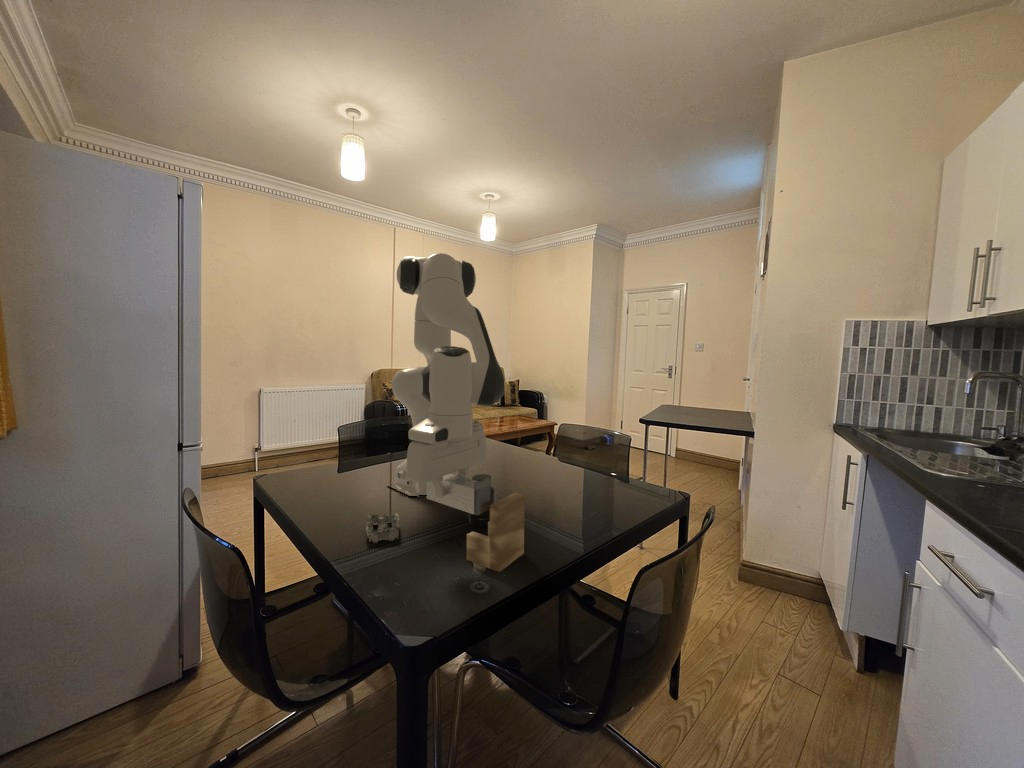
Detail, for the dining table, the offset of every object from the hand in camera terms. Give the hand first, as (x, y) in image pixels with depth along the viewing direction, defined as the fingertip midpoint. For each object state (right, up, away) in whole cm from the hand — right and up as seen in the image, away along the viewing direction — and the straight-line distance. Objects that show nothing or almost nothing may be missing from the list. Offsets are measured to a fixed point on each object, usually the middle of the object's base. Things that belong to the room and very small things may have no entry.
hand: (450, 492), depth 82 cm
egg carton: (-18, -14, +13) cm, 26 cm away
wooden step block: (+9, -14, +2) cm, 17 cm away
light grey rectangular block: (+2, -2, -1) cm, 3 cm away
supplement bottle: (+5, -13, +19) cm, 24 cm away
